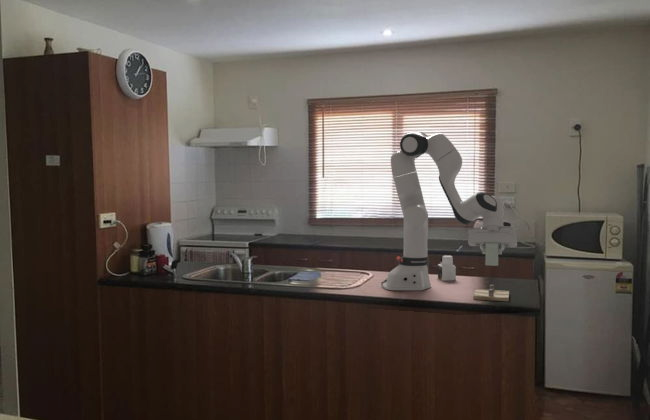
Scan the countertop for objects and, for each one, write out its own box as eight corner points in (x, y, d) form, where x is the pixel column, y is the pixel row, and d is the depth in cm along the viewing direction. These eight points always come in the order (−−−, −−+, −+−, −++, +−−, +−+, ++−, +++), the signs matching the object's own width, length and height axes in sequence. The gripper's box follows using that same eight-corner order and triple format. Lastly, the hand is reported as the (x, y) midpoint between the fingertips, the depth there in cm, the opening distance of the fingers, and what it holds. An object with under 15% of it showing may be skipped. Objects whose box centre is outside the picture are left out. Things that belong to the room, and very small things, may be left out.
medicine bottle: (437, 278, 282) (437, 254, 281) (451, 277, 282) (451, 254, 281) (441, 280, 274) (441, 256, 274) (455, 280, 275) (456, 256, 274)
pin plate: (475, 292, 247) (475, 283, 247) (509, 294, 243) (509, 285, 242) (473, 299, 234) (473, 289, 234) (508, 301, 229) (508, 291, 229)
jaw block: (486, 263, 241) (486, 242, 240) (498, 263, 239) (498, 242, 238) (485, 265, 236) (485, 244, 235) (497, 265, 234) (497, 244, 234)
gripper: (468, 223, 246) (466, 248, 238) (517, 223, 240) (517, 249, 231) (468, 232, 251) (467, 257, 242) (517, 233, 244) (517, 258, 236)
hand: (491, 253), depth 236 cm, fingers closed on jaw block, 5 cm apart
